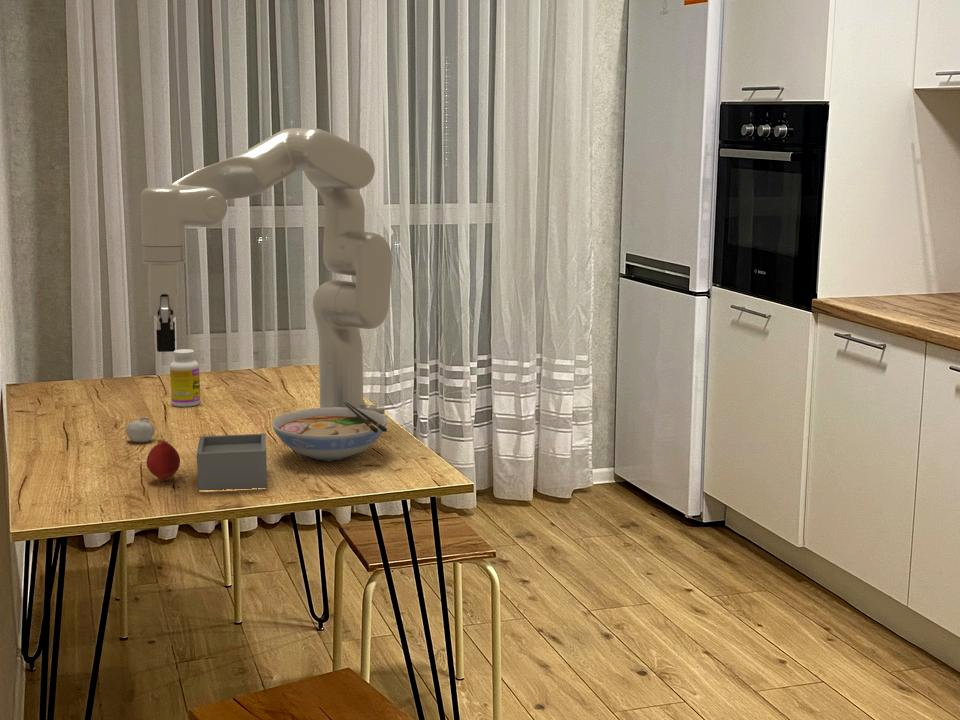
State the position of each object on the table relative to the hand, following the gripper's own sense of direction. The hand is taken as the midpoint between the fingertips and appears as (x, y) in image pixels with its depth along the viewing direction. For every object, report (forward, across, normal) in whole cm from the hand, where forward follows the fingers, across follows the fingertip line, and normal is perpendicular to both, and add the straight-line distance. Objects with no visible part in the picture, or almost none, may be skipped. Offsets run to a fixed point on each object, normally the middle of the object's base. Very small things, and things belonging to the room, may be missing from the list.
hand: (166, 346), depth 210 cm
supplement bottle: (+23, -53, +4) cm, 58 cm away
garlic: (+24, -22, -6) cm, 33 cm away
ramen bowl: (+23, -1, +31) cm, 39 cm away
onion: (+24, +8, -1) cm, 25 cm away
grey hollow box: (+24, +11, +11) cm, 29 cm away
